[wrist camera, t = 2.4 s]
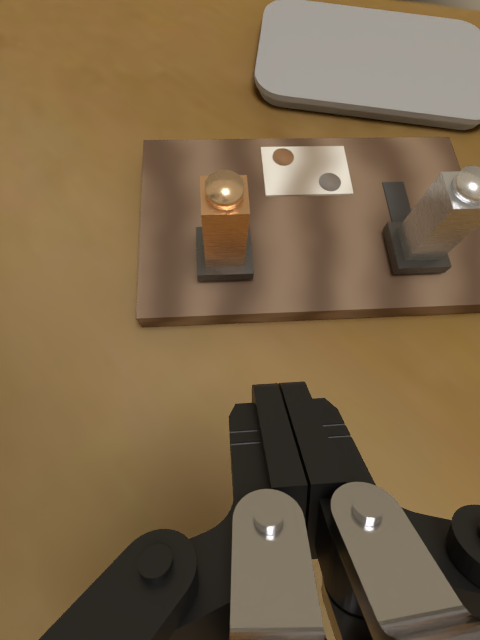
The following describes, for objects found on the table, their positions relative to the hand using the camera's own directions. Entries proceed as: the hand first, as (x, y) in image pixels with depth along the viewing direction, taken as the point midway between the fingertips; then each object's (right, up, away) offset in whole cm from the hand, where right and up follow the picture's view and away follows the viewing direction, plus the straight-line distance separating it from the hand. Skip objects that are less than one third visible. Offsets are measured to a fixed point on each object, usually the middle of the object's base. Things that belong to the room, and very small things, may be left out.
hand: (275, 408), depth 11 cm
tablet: (+14, +31, +32) cm, 47 cm away
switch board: (+5, +11, +23) cm, 26 cm away
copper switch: (-2, +8, +19) cm, 21 cm away
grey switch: (+14, +8, +20) cm, 26 cm away
